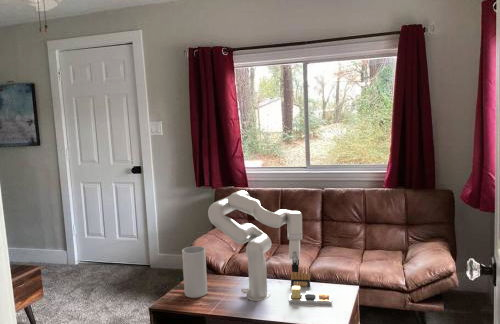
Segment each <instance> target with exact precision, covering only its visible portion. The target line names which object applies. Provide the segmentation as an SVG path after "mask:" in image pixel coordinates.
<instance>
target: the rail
mask: <svg viewBox="0 0 500 324" xmlns="http://www.w3.org/2000/svg"><path fill="white" fill-rule="evenodd" d="M288 299H289V300H288V304H289V305H311V306H312V305H313V306H319V305H320V306H332V295H331V293H318V294H317V293H314V300H306V293H301V299H292V293H290V294H289V297H288Z"/></svg>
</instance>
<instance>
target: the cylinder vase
mask: <svg viewBox="0 0 500 324" xmlns="http://www.w3.org/2000/svg"><path fill="white" fill-rule="evenodd" d="M181 255H182V256H181V257H182V273H183V289H184V290H183V291H184V295H185V296H186V297H187V298H191V299H198V298H202V297H204V296H206V295H207V293H208V278H207V275H208V274H207V261H206V259H207V258H206V247H204V246H200V245H193V246H187V247H184V248H183V249H182V250H181Z"/></svg>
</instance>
